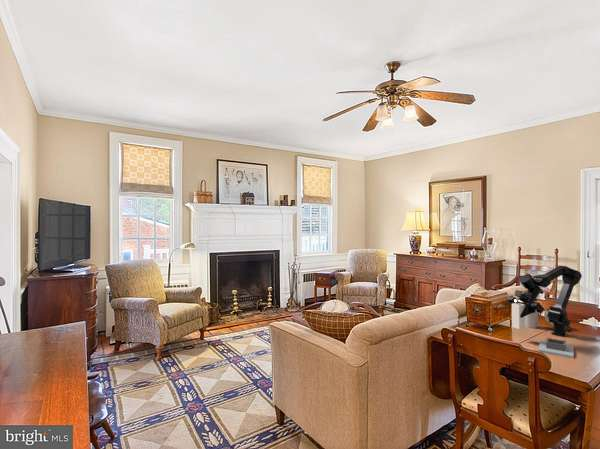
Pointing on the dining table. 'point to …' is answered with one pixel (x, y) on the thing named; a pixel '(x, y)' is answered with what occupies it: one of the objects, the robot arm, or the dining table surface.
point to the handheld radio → (551, 322)
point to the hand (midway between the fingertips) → (516, 316)
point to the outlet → (556, 347)
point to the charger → (518, 316)
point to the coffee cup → (531, 320)
